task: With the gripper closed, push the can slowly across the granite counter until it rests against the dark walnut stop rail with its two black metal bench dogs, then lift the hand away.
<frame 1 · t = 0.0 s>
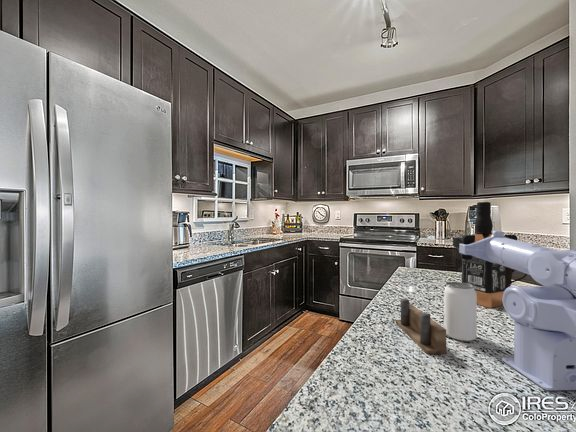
hand: (469, 241, 69), 22 cm above the countertop, tool horizontal, fingers open, 7 cm apart
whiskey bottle: (483, 301, 90), on the countertop
coffee mug: (503, 289, 103), on the countertop
stop rail: (422, 336, 65), on the countertop
can: (459, 336, 66), on the countertop
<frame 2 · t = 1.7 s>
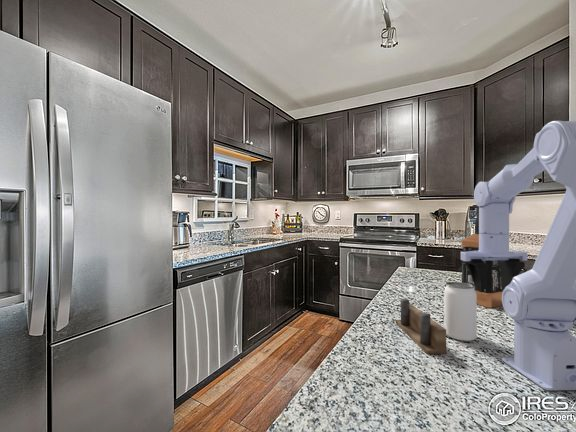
hand: (493, 291, 66), 10 cm above the countertop, tool pointing down, fingers open, 6 cm apart
nothing on the countertop moved.
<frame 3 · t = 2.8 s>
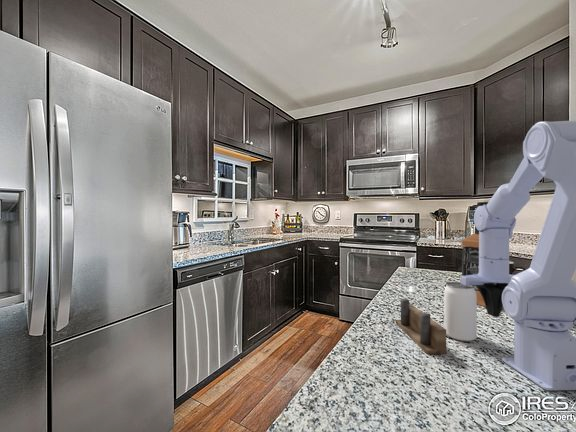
hand: (493, 315, 66), 5 cm above the countertop, tool pointing down, fingers closed
nothing on the countertop moved.
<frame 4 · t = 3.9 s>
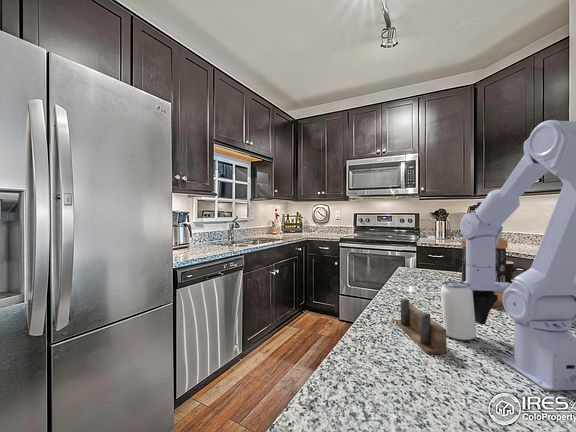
hand: (480, 322, 66), 3 cm above the countertop, tool pointing down, fingers closed
can: (459, 335, 66), on the countertop, touching gripper
everything else where it was.
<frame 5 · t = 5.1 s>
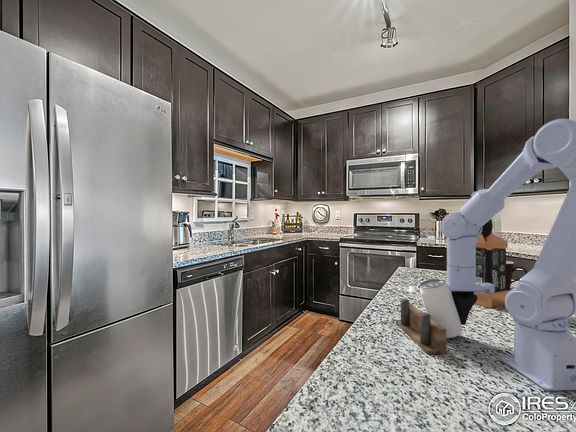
hand: (460, 323, 66), 3 cm above the countertop, tool pointing down, fingers closed
can: (447, 332, 66), point 1 cm above the countertop, touching gripper
everything else where it was.
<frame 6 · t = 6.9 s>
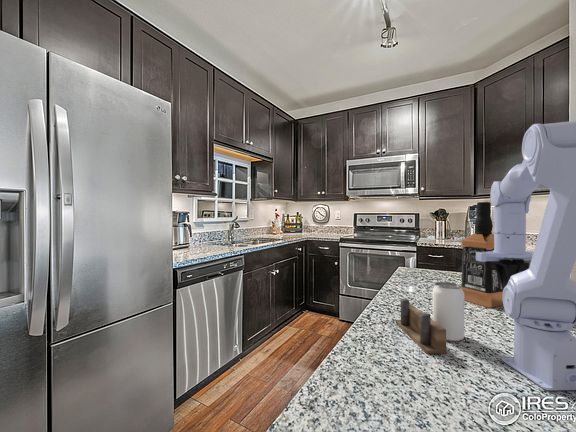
hand: (509, 291, 65), 10 cm above the countertop, tool pointing down, fingers closed
can: (448, 336, 66), on the countertop
everything else where it was.
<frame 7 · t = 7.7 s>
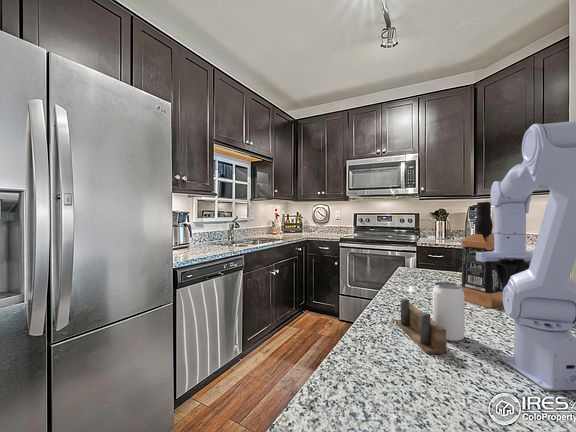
hand: (509, 292, 65), 10 cm above the countertop, tool pointing down, fingers closed
nothing on the countertop moved.
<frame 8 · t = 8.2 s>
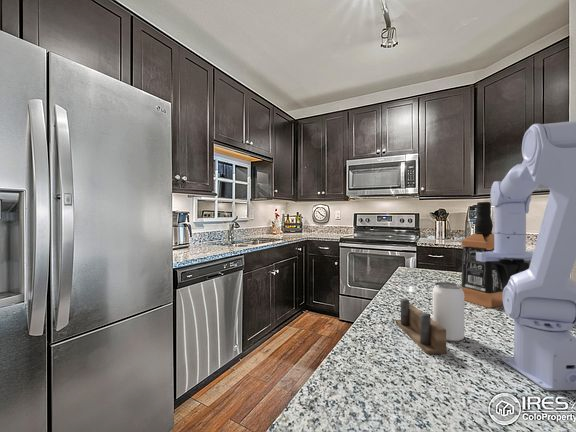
hand: (509, 292, 65), 10 cm above the countertop, tool pointing down, fingers closed
nothing on the countertop moved.
at the end: can 1.8 cm from the target spot, on the countertop; can tilted 0°; the gripper is holding nothing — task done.
